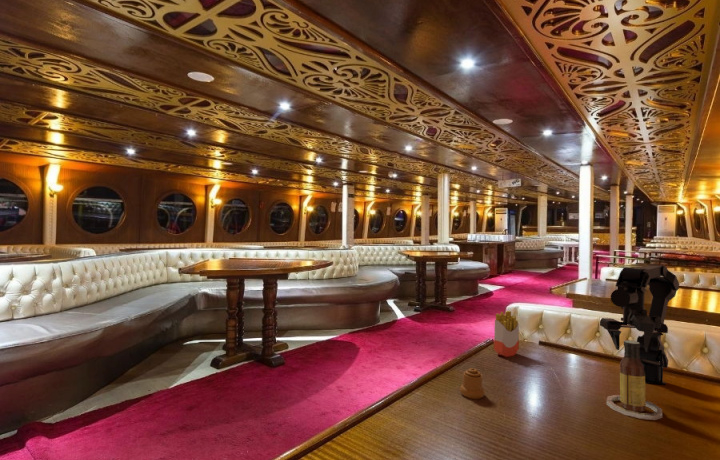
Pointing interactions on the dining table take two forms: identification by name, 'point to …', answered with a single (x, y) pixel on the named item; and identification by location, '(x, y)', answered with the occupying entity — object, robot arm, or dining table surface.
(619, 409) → the white faceted ring
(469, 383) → the ornamental finial
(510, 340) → the french fries container
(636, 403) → the sauce bottle
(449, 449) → the dining table surface
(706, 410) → the dining table surface
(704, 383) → the dining table surface
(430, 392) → the dining table surface
